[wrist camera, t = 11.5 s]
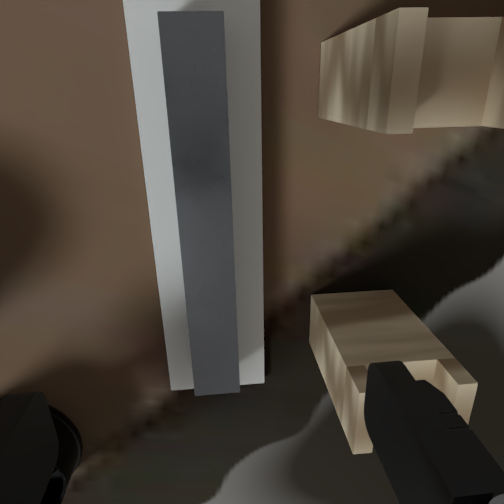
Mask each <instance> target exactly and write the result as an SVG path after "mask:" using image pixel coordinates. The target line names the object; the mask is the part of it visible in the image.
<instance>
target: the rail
mask: <svg viewBox="0 0 504 504" xmlns="http://www.w3.org/2000/svg"><path fill="white" fill-rule="evenodd" d="M157 15H158V25H159V35H160V46H161V56H162V66H163V76H164V86H165V97H166V107H167V117H168V127H169V137H170V147H171V158H172V168H173V178H174V188H175V198H176V209H177V219H178V229H179V239H180V249H181V260H182V270H183V280H184V290H185V300H186V311H187V321H188V331H189V341H190V351H191V361H192V372H193V382H194V392H195V396H200V395H212V394H224V393H236V392H240V377H239V353H238V330H237V307H236V284H235V260H234V237H233V214H232V191H231V167H230V144H229V121H228V98H227V74H226V51H225V28H224V11H157Z"/></svg>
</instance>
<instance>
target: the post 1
mask: <svg viewBox="0 0 504 504" xmlns="http://www.w3.org/2000/svg"><path fill="white" fill-rule="evenodd" d="M428 9H429V7H410V8H397V9H395V10H393V11H391V12H388V13H386V14H384V15H382V16H379V17H377V18H375V19H373V20H370V21H368V22H366V23H364V24H361V25H359V26H357V27H355V28H353V29H350V30H348V31H346V32H344V33H341V34H339V35H337V36H335V37H332V38H330V39H328V40H326V41H323V42H321V62H320V87H319V112H318V118H322V119H326V120H330V121H334V122H338V123H342V124H347V125H351V126H355V127H359V128H363V129H367V130H371V131H375V132H379V133H383V134H408V133H413V128H427V127H459V126H487V127H495V128H503V129H504V17H439V18H427V16H428Z"/></svg>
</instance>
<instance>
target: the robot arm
mask: <svg viewBox="0 0 504 504" xmlns="http://www.w3.org/2000/svg"><path fill="white" fill-rule="evenodd" d="M364 420H365V425H366V429H367V432H368V435H369V437H370V439H371V442H372V444H373V446H374V448H375V450H376V453H377V455H378V457H379V459H380V462H381V464H382V466H383V468H384V470H385V473H386V475H387V477H388V479H389V481H390V484H391V486H392V488H393V490H394V492H395V495H396V497H397V499H398V501H399V504H504V472H503V470H502V469H501V468H500V466H499V465H498V464H497V462H496V461H495V460H494V458H493V457H492V456H491V455H490V453H489V452H488V451H487V449H486V448H485V447H484V445H483V444H482V443H481V441H480V440H479V439H478V437H477V436H476V435H475V433H474V432H473V431H472V430H470V429H469V426H468V424H467V423H466V422H465V420H464V419H463V418H462V416H461V415H458V411H457V410H456V408H455V407H454V406H453V404H452V403H451V402H450V400H449V399H448V398H447V397H446V395H445V394H444V393H443V392H441V391H440V390H439V389H437V388H436V387H435V386H433V385H432V384H430V383H429V382H428V381H426V380H415V379H414V377H413V376H412V375H411V373H410V372H409V370H408V369H407V367H406V366H405V365H404V363H403V362H402V361H399V360H398V361H387V362H376V363H370V364H369V366H368V372H367V381H366V391H365V401H364ZM58 451H59V442H58V437H57V433H56V430H55V427H54V423H53V420H52V417H51V413H50V410H49V407H48V404H47V400H46V397H45V395H44V394H43V393H42V392H31V393H20V394H9V395H6V396H4V397H3V398H2V399H1V400H0V504H40V503H41V501H42V498H43V496H44V493H45V491H46V488H47V486H48V483H49V481H50V478H51V476H52V474H53V471H54V469H55V466H56V463H57V458H58Z"/></svg>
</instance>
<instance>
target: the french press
mask: <svg viewBox="0 0 504 504" xmlns="http://www.w3.org/2000/svg"><path fill="white" fill-rule="evenodd" d="M0 400H1V399H0ZM48 407H49V410H50V413H51V417H52V420H53V423H54V427H55V430H56V433H57V437H58V442H59V451H58V458H57V463H56V466H57V468H56V469H55V470H54V471H53V474H52V476H51V478H50V481H49V483H48V486H47V488H46V491H45V493H44V496H43V498H42V501H41V503H40V504H61V502H62V500H63V497H64V494H65V491H66V489H67V486H68V483H69V480H70V478H71V475H72V474H73V472H74V471H75V469H76V468H77V467H78V464H79V461H80V459H81V456H82V441H81V436H80V434H79V432H78V430H77V428H76V427H75V426H74V424H73V423H72V422H71V421H70V420H69V419H68V418H67V417H66V416H65V415H63V414H62V413H61V412H59V411H57V410H56V409H54V408H52V407H50V406H48Z"/></svg>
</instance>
